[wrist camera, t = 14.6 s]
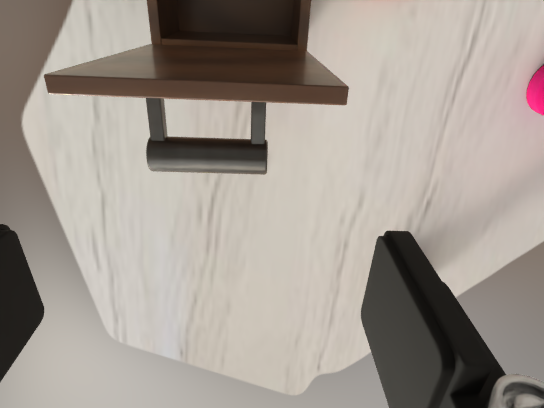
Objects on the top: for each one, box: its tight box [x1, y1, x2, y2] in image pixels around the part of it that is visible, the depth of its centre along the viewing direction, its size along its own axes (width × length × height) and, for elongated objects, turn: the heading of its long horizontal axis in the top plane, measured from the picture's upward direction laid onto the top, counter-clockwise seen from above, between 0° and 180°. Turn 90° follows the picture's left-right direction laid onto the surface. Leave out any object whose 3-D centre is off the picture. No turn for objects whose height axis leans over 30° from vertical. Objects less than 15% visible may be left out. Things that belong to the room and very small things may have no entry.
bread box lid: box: [44, 44, 349, 174], centre depth 23 cm, size 16×13×5 cm
